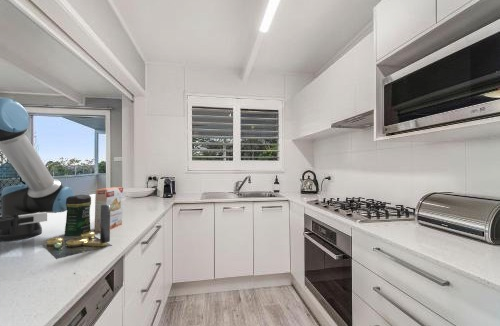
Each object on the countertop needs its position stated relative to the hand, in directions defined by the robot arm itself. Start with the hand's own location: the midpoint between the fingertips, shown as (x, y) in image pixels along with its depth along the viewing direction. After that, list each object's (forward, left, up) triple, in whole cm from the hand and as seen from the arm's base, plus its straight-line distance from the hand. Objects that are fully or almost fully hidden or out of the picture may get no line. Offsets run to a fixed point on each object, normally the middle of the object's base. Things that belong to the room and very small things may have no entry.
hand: (46, 216), depth 75 cm
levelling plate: (-10, +11, -15) cm, 22 cm away
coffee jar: (-30, +17, -16) cm, 37 cm away
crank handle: (-7, +14, -14) cm, 21 cm away
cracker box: (-30, +30, -16) cm, 45 cm away
